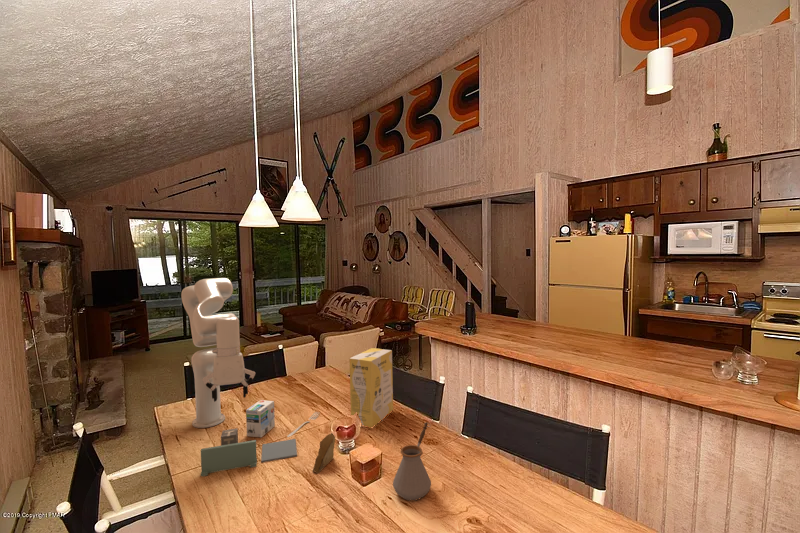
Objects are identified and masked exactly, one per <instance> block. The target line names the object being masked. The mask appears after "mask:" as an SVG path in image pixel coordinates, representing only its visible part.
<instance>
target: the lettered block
mask: <svg viewBox="0 0 800 533" xmlns="http://www.w3.org/2000/svg"><path fill="white" fill-rule="evenodd" d="M238 429H239V428H231V429H224V430H222V432H221V435H220V446H222V445H228V444H234V443H239V432H238V431H239V430H238Z"/></svg>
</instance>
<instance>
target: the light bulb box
mask: <svg viewBox="0 0 800 533" xmlns="http://www.w3.org/2000/svg"><path fill="white" fill-rule="evenodd" d="M245 416H246V418H245V419H246V420H245V422H246V437H254V438H262V437H264V436H265V435H266V434H267V433H268V432H270V430H272V429H274V427H275V426H276V425H275V423H276V422H275V419H276V418H275V401H274V400H264V399H260V400H258V401H257V402H255V403H254V404H252V405H251V406H250V407H248V408H247V409H246V410H245Z"/></svg>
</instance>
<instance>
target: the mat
mask: <svg viewBox="0 0 800 533" xmlns="http://www.w3.org/2000/svg"><path fill="white" fill-rule="evenodd" d="M296 441H297V440H296V438H291V439H287V440H279V441H274V442H273V441H272V442H268V443H262V447H261V458H260V459H261V460H260V462H261V463H267V462H272V461H273V462H274V461H279V460H284V459H288V458H289V459H290V458H293V457H295V458H296V457H298V451H297V442H296Z"/></svg>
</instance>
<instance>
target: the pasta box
mask: <svg viewBox="0 0 800 533" xmlns="http://www.w3.org/2000/svg"><path fill="white" fill-rule="evenodd" d="M348 359H349V390H350V391H349V392H350V394H349V395H350V396H349V397H350V398H349V399H350V416H351V415H354V414H355V413H356V412H357V414H358V416H359V418H360V420H361V423H362V425H364V426H368V427H373V426H374V425H376V424H377V423H378V422H379V421H380V420H382V419H383V418H384V417H385V416H386V415H387V414H389V413H390V412H391V411H392V410H393V411H394V393H393V392H394V389H393V388H394V387H393V384H394V383H393V381H394V380H393V350H391V349H386V348H385V349H384V348H383V349H382V348H375V347H371V348H369V349H367V350H365V351H362V352H360V353H359V354H358V353H357V354H355V355H353V356H351V357H349V358H348ZM382 421H383V420H382ZM376 426H377V425H376Z"/></svg>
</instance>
